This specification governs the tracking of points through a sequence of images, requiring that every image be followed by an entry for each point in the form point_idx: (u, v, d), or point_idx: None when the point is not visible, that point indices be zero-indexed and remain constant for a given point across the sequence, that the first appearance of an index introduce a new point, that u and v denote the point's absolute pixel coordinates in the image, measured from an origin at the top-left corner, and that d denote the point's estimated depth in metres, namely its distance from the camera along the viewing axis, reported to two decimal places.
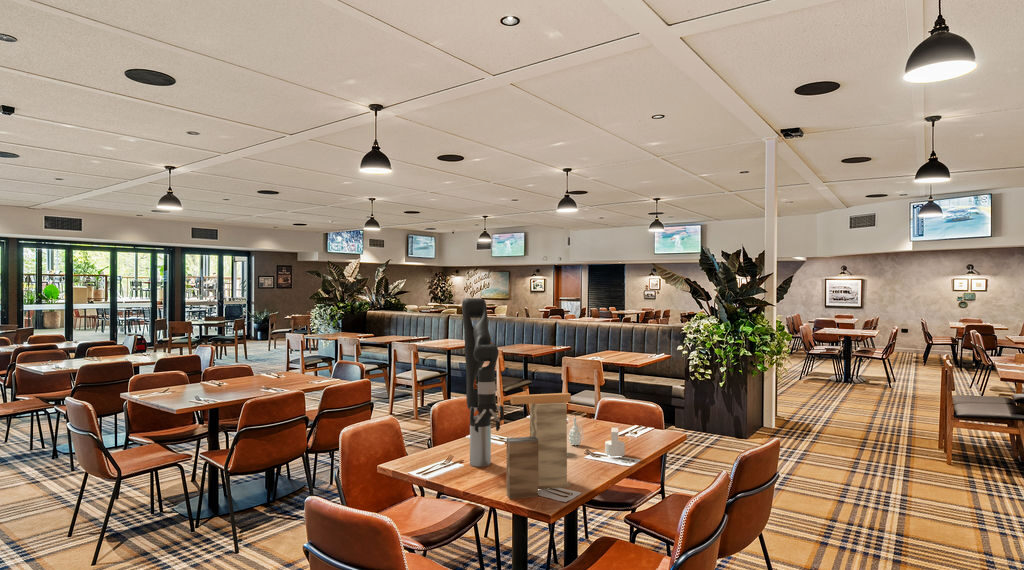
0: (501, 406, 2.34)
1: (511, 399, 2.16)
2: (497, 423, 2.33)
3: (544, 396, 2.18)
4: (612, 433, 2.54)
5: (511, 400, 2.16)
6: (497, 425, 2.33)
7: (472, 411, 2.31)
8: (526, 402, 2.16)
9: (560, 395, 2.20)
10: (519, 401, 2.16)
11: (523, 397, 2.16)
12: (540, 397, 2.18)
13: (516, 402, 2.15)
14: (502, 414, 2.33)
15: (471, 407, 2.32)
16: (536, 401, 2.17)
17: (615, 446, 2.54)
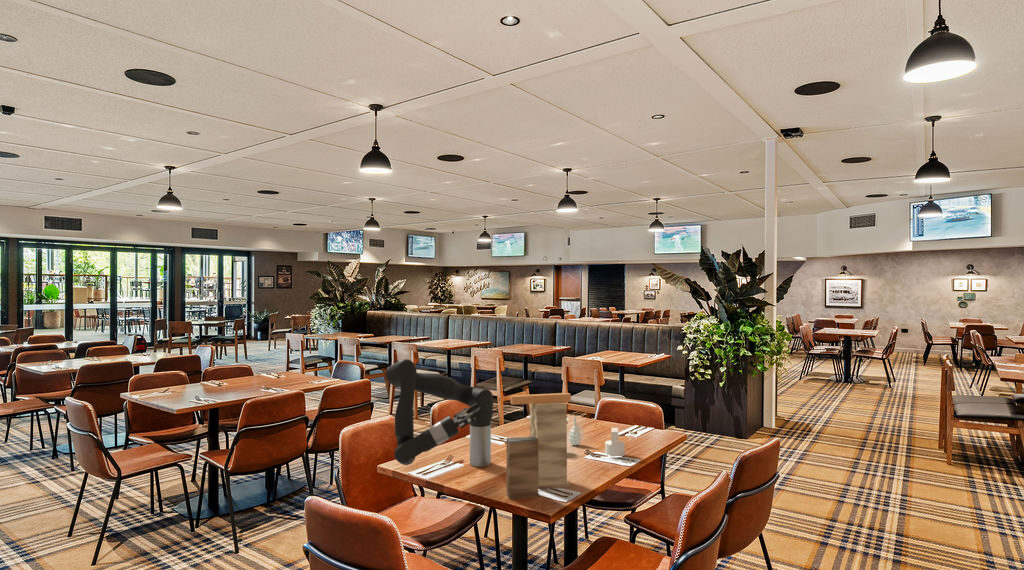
0: (461, 427, 2.06)
1: (511, 399, 2.16)
2: (476, 416, 2.10)
3: (544, 396, 2.18)
4: (612, 433, 2.54)
5: (511, 400, 2.16)
6: None
7: None
8: (526, 402, 2.16)
9: (560, 395, 2.20)
10: (519, 401, 2.16)
11: (523, 397, 2.16)
12: (540, 397, 2.18)
13: (516, 402, 2.15)
14: None
15: None
16: (536, 401, 2.17)
17: (615, 446, 2.54)
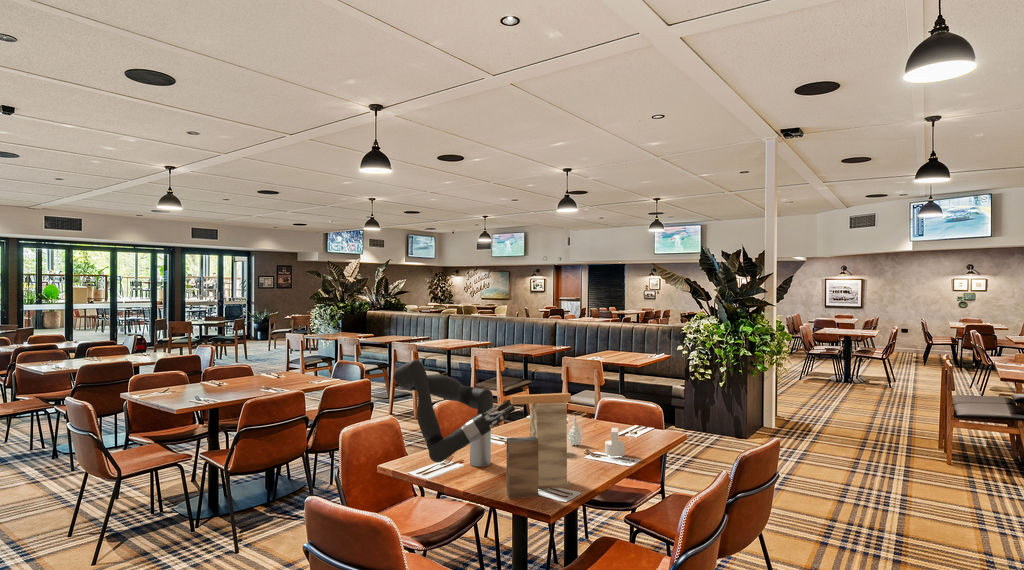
0: (494, 425, 2.08)
1: (511, 399, 2.16)
2: None
3: (544, 396, 2.18)
4: (612, 433, 2.54)
5: (511, 400, 2.16)
6: None
7: None
8: (526, 402, 2.16)
9: (560, 395, 2.20)
10: (519, 401, 2.16)
11: (523, 397, 2.16)
12: (540, 397, 2.18)
13: (516, 402, 2.15)
14: None
15: None
16: (536, 401, 2.17)
17: (615, 446, 2.54)
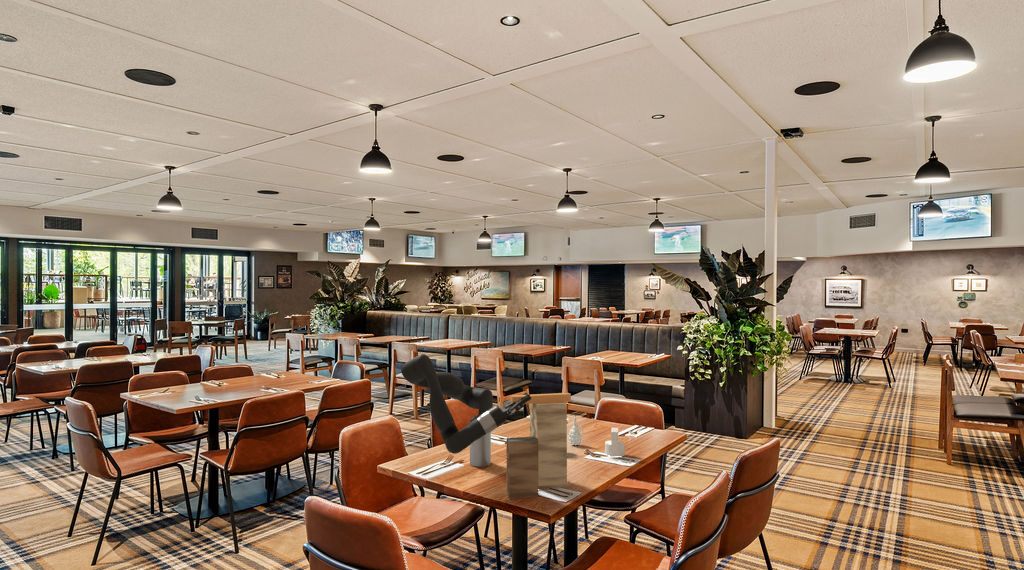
0: (513, 414, 2.10)
1: (511, 399, 2.16)
2: None
3: (544, 396, 2.18)
4: (612, 433, 2.54)
5: (511, 400, 2.16)
6: (526, 401, 2.16)
7: None
8: (526, 402, 2.16)
9: (560, 395, 2.20)
10: None
11: None
12: (540, 397, 2.18)
13: None
14: None
15: None
16: (536, 401, 2.17)
17: (615, 446, 2.54)
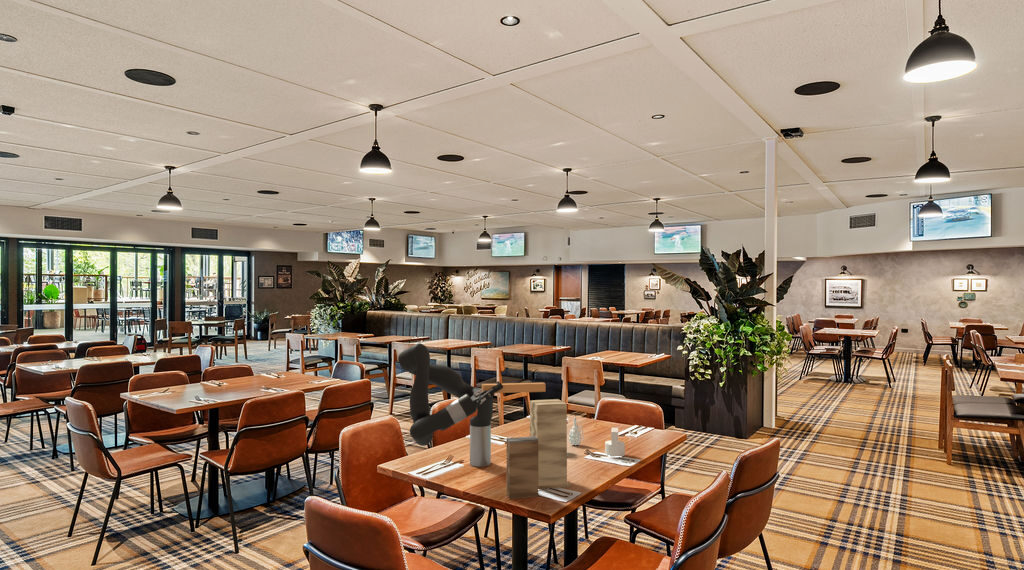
0: (483, 403, 2.00)
1: (482, 388, 2.06)
2: None
3: (517, 385, 2.08)
4: (612, 433, 2.54)
5: (482, 389, 2.06)
6: (498, 390, 2.06)
7: None
8: (498, 391, 2.06)
9: (534, 384, 2.09)
10: None
11: None
12: (513, 387, 2.07)
13: None
14: None
15: None
16: (508, 391, 2.07)
17: (615, 446, 2.54)
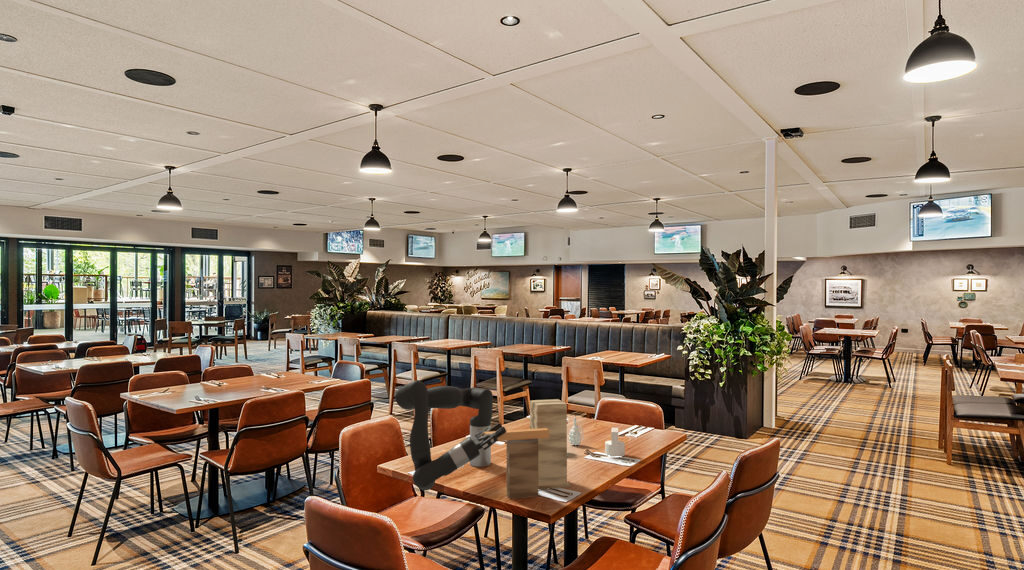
0: (484, 449, 1.96)
1: None
2: None
3: (520, 432, 2.05)
4: (612, 433, 2.54)
5: None
6: None
7: None
8: (501, 439, 2.03)
9: (537, 431, 2.06)
10: None
11: None
12: (516, 434, 2.04)
13: None
14: None
15: None
16: (511, 438, 2.04)
17: (615, 446, 2.54)
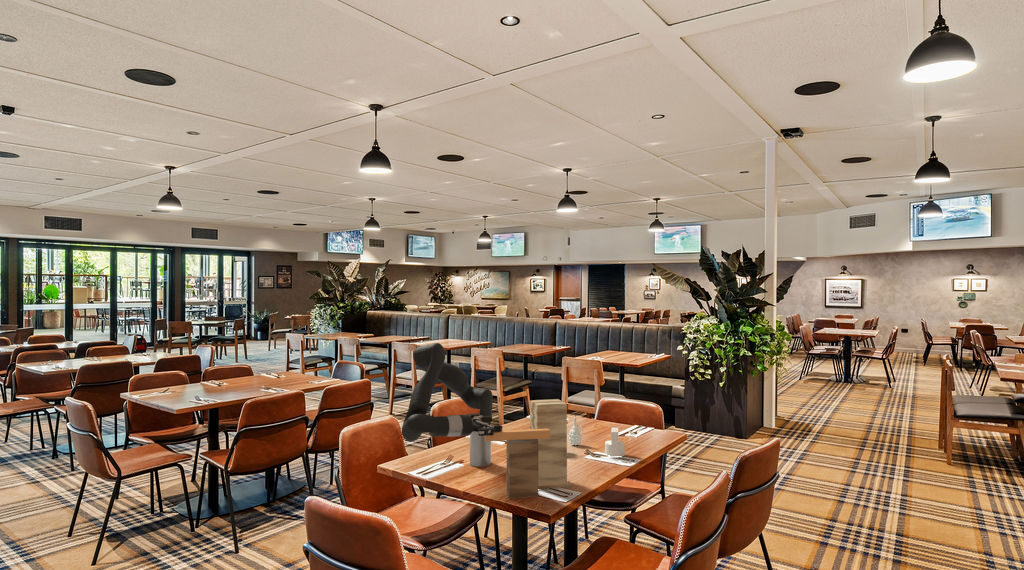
0: (478, 434, 1.99)
1: None
2: (493, 431, 2.04)
3: (520, 432, 2.04)
4: (612, 433, 2.54)
5: (485, 436, 2.03)
6: None
7: None
8: (501, 439, 2.03)
9: (538, 431, 2.06)
10: (493, 438, 2.03)
11: (497, 433, 2.03)
12: (517, 434, 2.04)
13: (490, 439, 2.02)
14: None
15: None
16: (512, 438, 2.04)
17: (615, 446, 2.54)
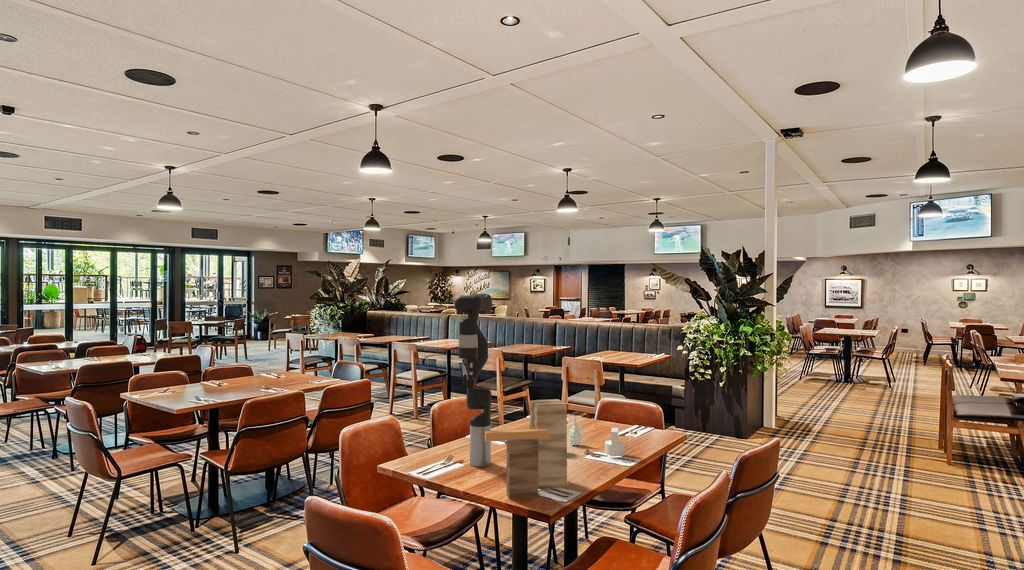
0: (467, 363, 2.12)
1: (485, 435, 2.03)
2: (467, 380, 2.14)
3: (521, 433, 2.04)
4: (612, 433, 2.54)
5: (485, 437, 2.03)
6: (467, 383, 2.14)
7: (462, 363, 2.24)
8: (501, 439, 2.03)
9: (538, 431, 2.06)
10: (493, 438, 2.03)
11: (498, 434, 2.03)
12: (517, 434, 2.04)
13: (490, 439, 2.02)
14: (467, 371, 2.12)
15: (464, 359, 2.25)
16: (512, 438, 2.04)
17: (615, 446, 2.54)
